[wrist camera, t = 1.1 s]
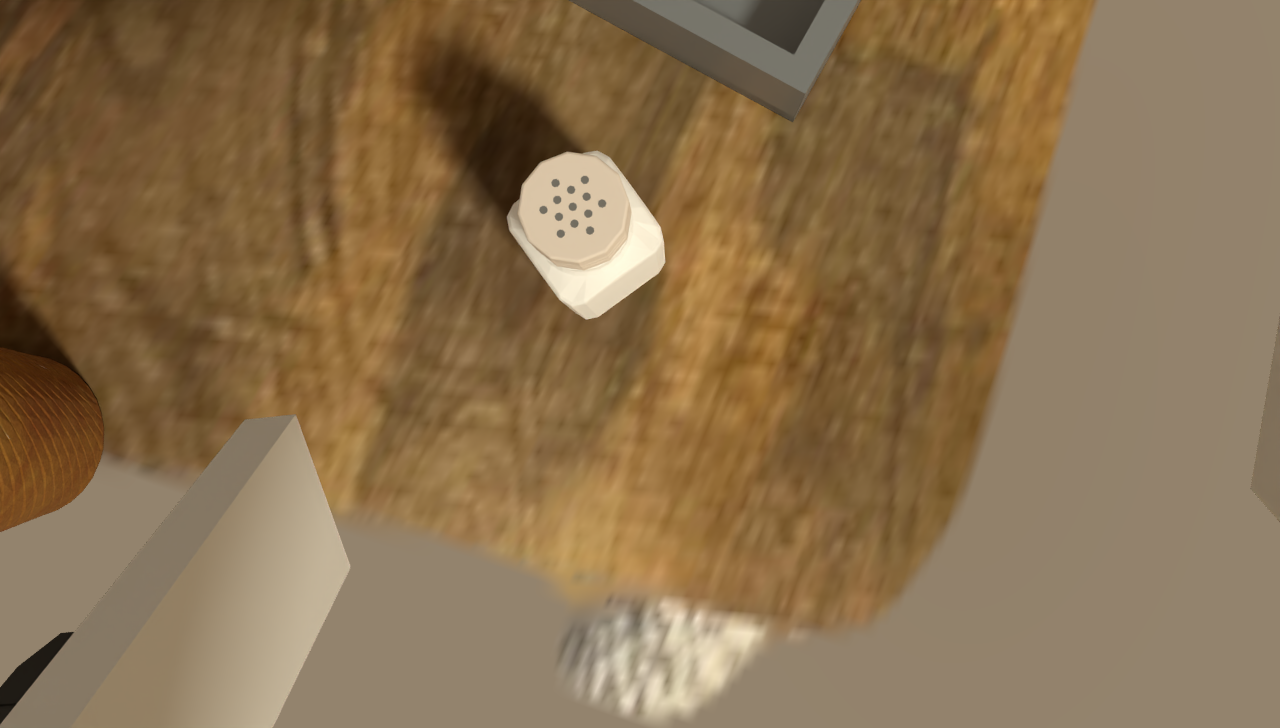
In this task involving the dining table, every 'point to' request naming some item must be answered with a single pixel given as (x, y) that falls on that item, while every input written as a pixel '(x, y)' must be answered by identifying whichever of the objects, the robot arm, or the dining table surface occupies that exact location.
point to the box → (740, 40)
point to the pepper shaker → (586, 231)
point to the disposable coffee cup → (44, 436)
